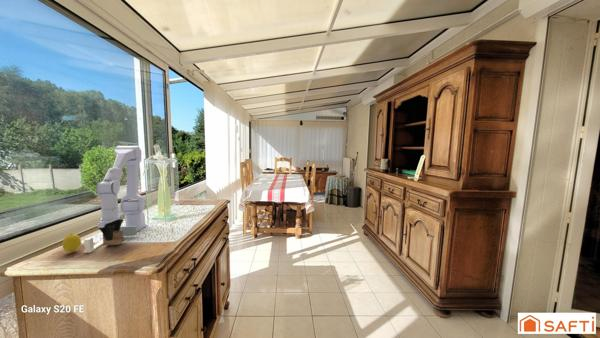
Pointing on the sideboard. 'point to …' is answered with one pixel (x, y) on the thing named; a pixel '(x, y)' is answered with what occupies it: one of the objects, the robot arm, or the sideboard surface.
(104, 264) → the sideboard surface
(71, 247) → the lemon
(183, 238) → the sideboard surface
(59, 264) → the sideboard surface
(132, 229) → the door
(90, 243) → the white bracket
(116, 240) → the brown block
